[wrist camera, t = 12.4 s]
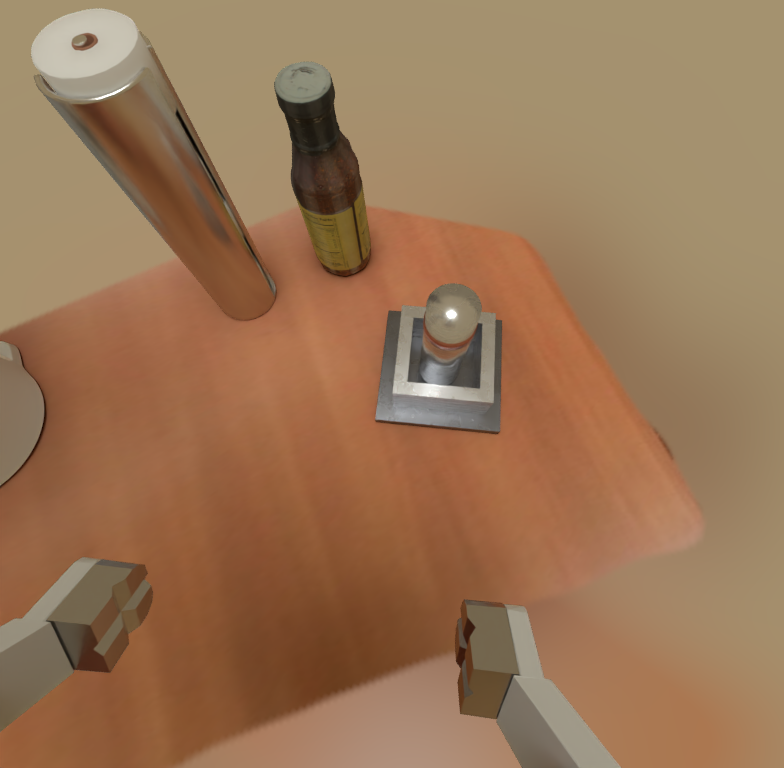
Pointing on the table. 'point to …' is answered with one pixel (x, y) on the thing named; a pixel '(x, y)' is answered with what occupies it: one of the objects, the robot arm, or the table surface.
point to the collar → (440, 402)
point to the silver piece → (151, 150)
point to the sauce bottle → (324, 169)
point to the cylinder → (447, 332)
